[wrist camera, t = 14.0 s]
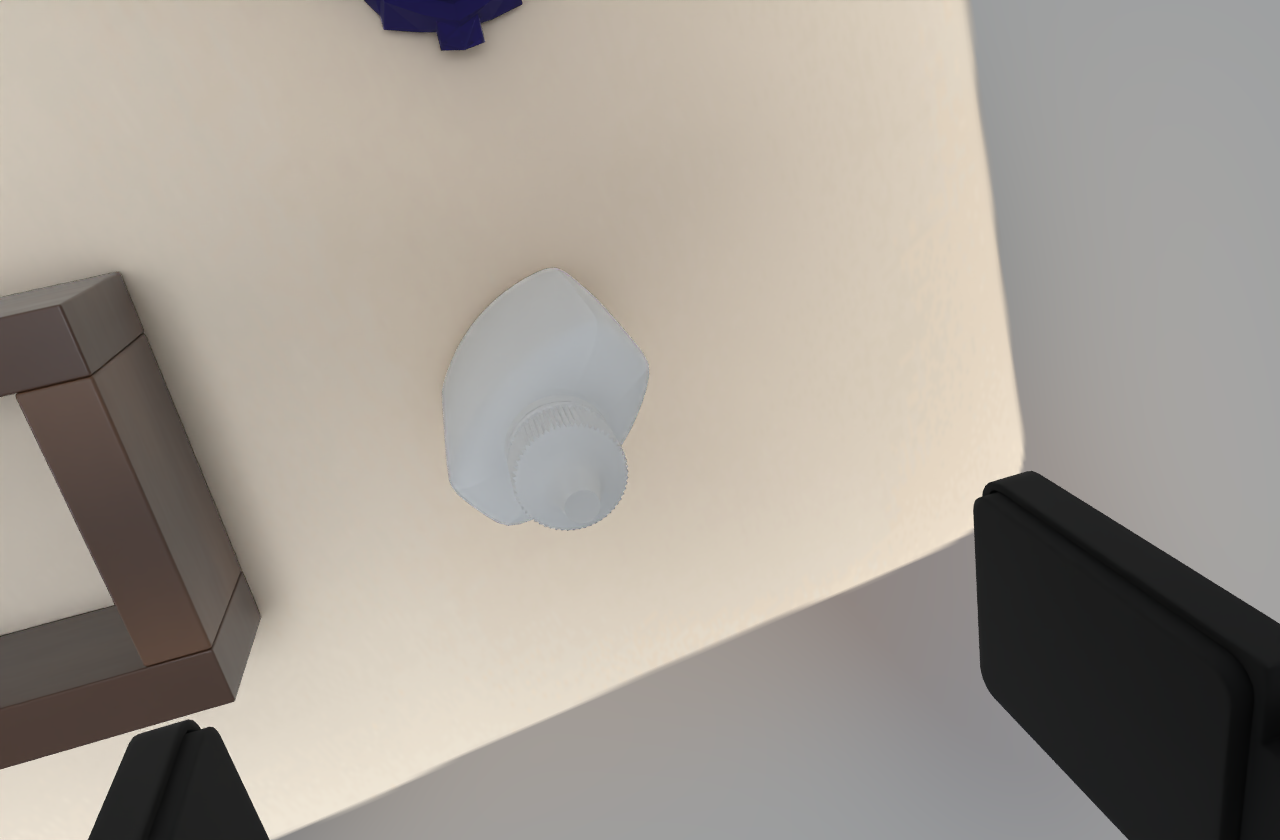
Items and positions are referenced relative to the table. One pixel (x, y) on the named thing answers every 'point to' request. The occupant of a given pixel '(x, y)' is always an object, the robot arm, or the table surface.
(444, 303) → the table surface
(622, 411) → the eye dropper bottle
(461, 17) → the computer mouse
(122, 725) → the holder
